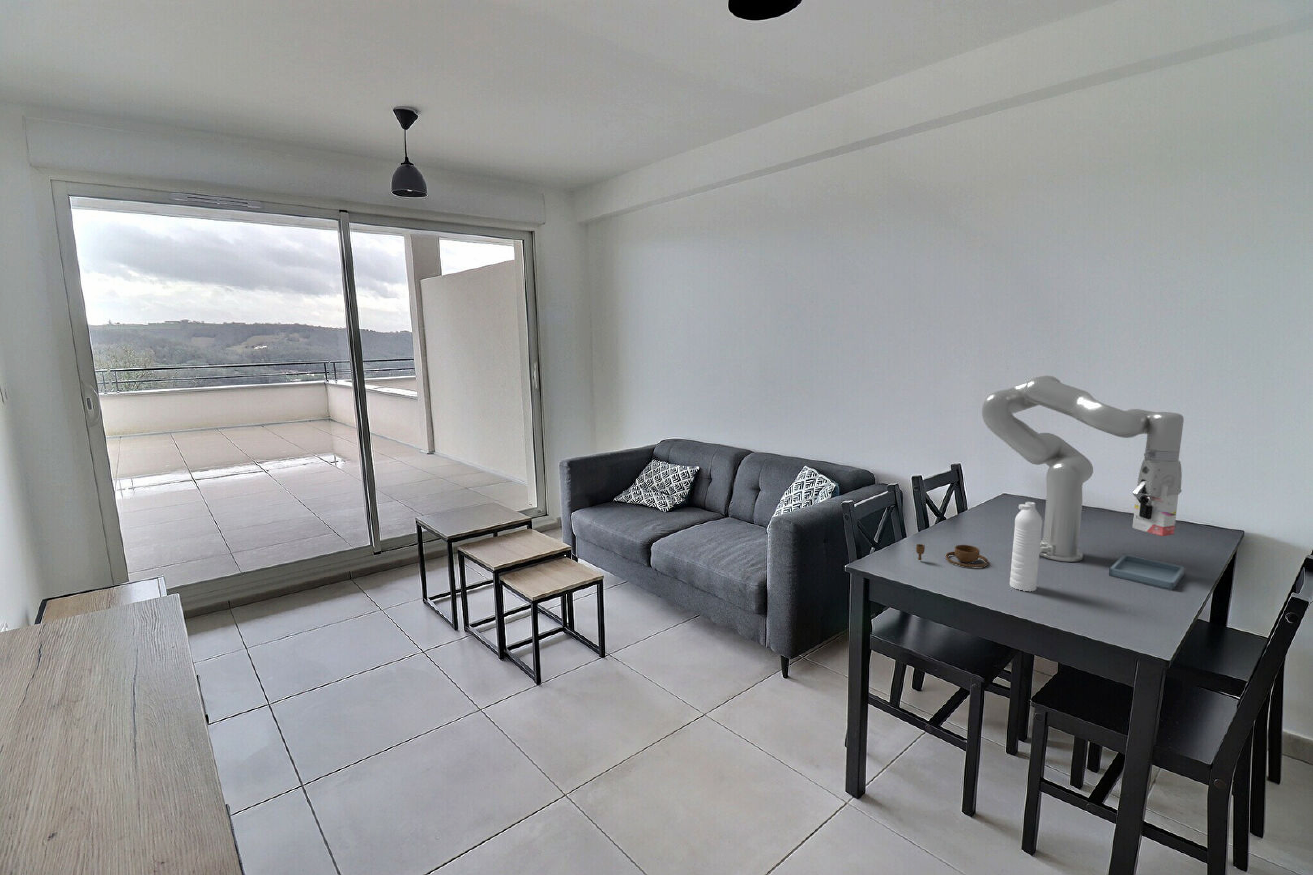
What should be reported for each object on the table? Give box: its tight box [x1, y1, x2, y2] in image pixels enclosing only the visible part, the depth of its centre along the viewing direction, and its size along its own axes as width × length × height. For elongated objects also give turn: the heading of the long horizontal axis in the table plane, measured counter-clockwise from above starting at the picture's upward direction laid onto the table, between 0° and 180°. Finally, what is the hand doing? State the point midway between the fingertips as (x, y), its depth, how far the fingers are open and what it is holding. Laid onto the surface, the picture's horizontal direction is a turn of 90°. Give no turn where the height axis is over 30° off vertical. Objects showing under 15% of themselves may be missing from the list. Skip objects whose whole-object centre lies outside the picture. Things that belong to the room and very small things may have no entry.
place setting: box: [915, 543, 989, 568], centre depth 194 cm, size 18×20×6 cm
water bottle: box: [1009, 501, 1043, 592], centre depth 170 cm, size 9×6×25 cm
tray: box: [1108, 554, 1186, 591], centre depth 179 cm, size 17×15×2 cm
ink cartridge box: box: [1132, 485, 1179, 537], centre depth 176 cm, size 9×5×15 cm, turn 17°
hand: (1154, 516), depth 176 cm, fingers closed on ink cartridge box, 5 cm apart
